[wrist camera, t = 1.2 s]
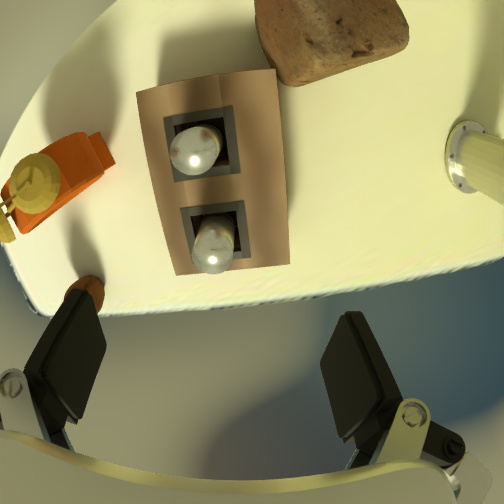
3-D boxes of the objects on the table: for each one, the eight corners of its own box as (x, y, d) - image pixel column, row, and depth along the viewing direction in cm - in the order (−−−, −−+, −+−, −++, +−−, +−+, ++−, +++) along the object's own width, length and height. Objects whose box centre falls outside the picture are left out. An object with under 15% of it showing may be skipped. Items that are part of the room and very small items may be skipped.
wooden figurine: (100, 267, 40) (59, 330, 27) (114, 295, 43) (82, 359, 30) (73, 273, 41) (32, 331, 28) (87, 299, 44) (53, 358, 31)
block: (334, 75, 28) (430, 53, 10) (280, 93, 29) (330, 75, 12) (298, 6, 23) (351, -75, 5) (243, 23, 24) (242, -63, 7)
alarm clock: (65, 204, 35) (-18, 276, 17) (48, 172, 32) (-44, 229, 14) (126, 161, 32) (31, 222, 15) (107, 124, 29) (-2, 156, 12)
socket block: (269, 77, 28) (275, 68, 22) (282, 237, 39) (290, 264, 32) (156, 94, 28) (135, 92, 22) (185, 248, 39) (175, 276, 33)
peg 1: (220, 121, 26) (213, 125, 20) (225, 157, 28) (220, 171, 22) (183, 127, 26) (166, 133, 20) (189, 162, 28) (174, 178, 22)
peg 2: (232, 208, 31) (229, 235, 25) (237, 239, 33) (235, 272, 27) (198, 212, 31) (187, 240, 25) (204, 243, 33) (196, 275, 27)
